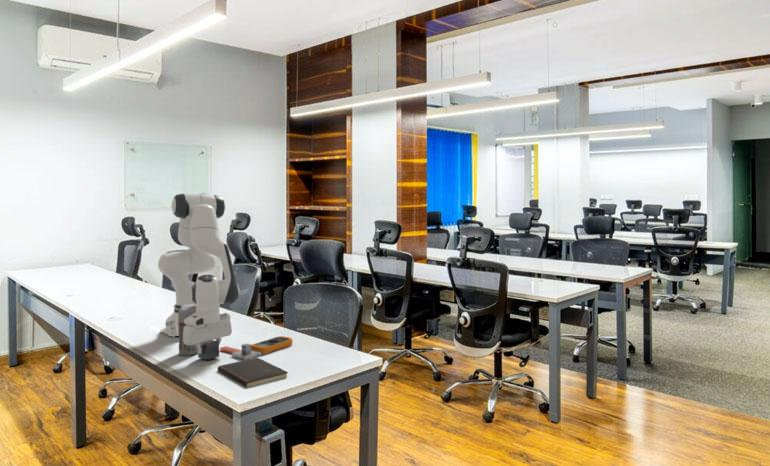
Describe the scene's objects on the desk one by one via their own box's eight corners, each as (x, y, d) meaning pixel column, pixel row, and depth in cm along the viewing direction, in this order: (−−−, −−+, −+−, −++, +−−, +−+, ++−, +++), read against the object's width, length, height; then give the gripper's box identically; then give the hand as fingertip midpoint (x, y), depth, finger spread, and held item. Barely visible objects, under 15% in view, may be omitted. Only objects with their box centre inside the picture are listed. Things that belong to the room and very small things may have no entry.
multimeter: (294, 345, 226) (294, 337, 226) (264, 355, 211) (264, 347, 211) (280, 342, 231) (280, 334, 231) (249, 352, 216) (249, 344, 216)
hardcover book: (257, 363, 202) (257, 357, 202) (288, 378, 185) (288, 372, 184) (217, 372, 191) (217, 366, 191) (246, 389, 174) (246, 382, 174)
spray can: (205, 352, 215) (203, 304, 214) (188, 357, 208) (187, 307, 207) (191, 349, 219) (190, 302, 218) (174, 354, 212) (173, 305, 211)
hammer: (214, 352, 215) (214, 341, 215) (230, 347, 222) (230, 337, 221) (244, 360, 204) (244, 348, 204) (260, 355, 210) (260, 344, 210)
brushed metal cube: (198, 357, 205) (198, 342, 205) (210, 354, 210) (210, 339, 210) (206, 360, 202) (206, 344, 202) (219, 356, 207) (218, 341, 206)
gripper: (225, 311, 215) (225, 344, 216) (180, 320, 199) (180, 356, 200) (234, 313, 212) (235, 346, 212) (189, 322, 195) (190, 359, 196)
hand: (208, 351), depth 206 cm, fingers closed on brushed metal cube, 6 cm apart
